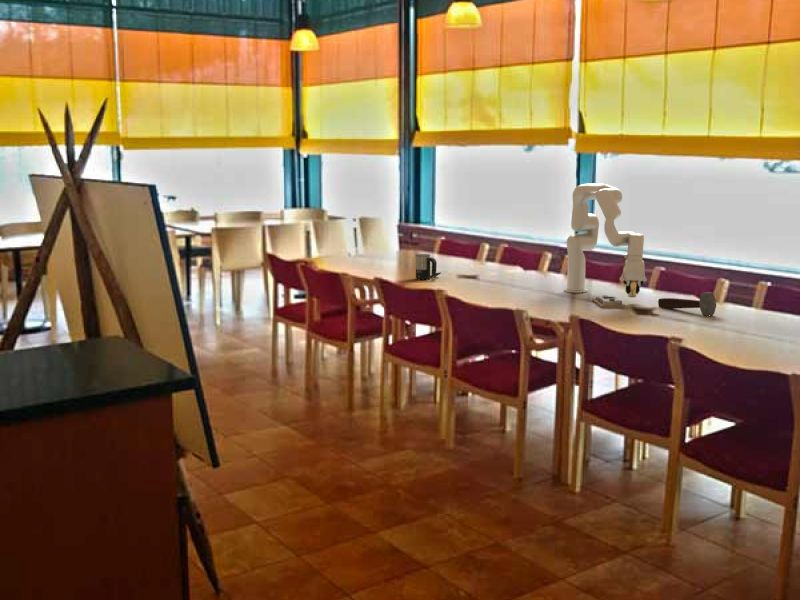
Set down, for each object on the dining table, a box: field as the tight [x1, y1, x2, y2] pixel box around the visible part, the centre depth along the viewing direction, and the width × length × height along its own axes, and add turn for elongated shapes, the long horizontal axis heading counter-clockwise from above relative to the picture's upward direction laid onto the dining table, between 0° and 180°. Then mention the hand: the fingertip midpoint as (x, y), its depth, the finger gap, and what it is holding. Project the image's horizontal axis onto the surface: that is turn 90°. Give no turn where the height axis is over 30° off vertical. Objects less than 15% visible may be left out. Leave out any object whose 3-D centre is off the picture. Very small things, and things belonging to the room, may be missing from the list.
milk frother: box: [414, 253, 442, 280], centre depth 516 cm, size 14×16×15 cm
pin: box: [627, 281, 637, 298], centre depth 436 cm, size 4×4×9 cm
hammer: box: [657, 291, 717, 317], centre depth 415 cm, size 5×11×30 cm
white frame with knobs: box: [591, 294, 626, 309], centre depth 435 cm, size 20×12×4 cm, turn 0°
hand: (632, 293), depth 437 cm, fingers closed on pin, 4 cm apart
